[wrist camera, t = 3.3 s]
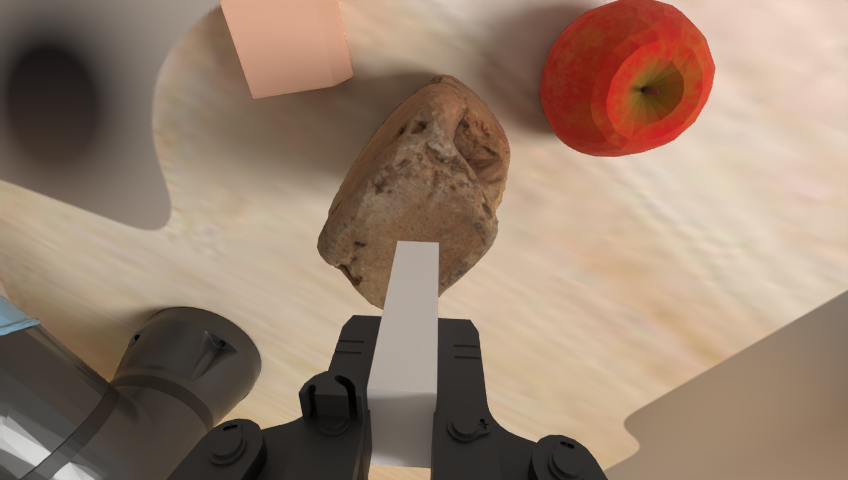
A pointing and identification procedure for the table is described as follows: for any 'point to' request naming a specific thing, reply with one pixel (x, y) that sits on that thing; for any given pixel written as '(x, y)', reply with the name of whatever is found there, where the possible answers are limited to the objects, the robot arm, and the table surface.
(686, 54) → the apple
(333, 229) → the brown long irregular lump
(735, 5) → the table surface
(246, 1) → the terracotta block
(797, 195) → the table surface
